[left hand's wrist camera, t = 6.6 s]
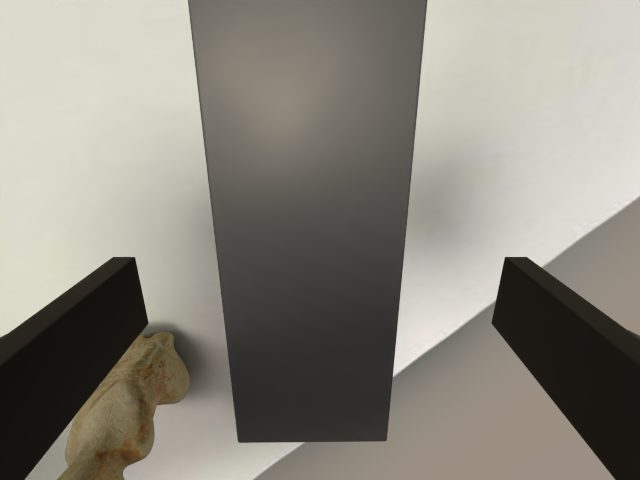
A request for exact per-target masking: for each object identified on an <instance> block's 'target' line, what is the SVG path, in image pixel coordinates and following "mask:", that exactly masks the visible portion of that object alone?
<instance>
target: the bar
mask: <svg viewBox="0 0 640 480" xmlns="http://www.w3.org/2000/svg"><path fill="white" fill-rule="evenodd" d="M188 5H189V14H190V23H191V31H192V40H193V49H194V58H195V67H196V75H197V84H198V93H199V102H200V111H201V119H202V128H203V137H204V146H205V155H206V163H207V172H208V181H209V190H210V199H211V207H212V216H213V225H214V234H215V243H216V251H217V260H218V269H219V278H220V287H221V295H222V304H223V313H224V322H225V331H226V339H227V348H228V357H229V366H230V375H231V383H232V392H233V401H234V410H235V419H236V427H237V436H238V442H239V443H249V442H353V441H354V442H355V441H386V440H387V432H388V421H389V410H390V399H391V388H392V377H393V367H394V356H395V345H396V334H397V323H398V312H399V302H400V291H401V280H402V269H403V258H404V247H405V236H406V226H407V215H408V204H409V193H410V182H411V171H412V161H413V150H414V139H415V128H416V117H417V106H418V96H419V85H420V74H421V63H422V52H423V41H424V30H425V20H426V9H427V0H188Z"/></svg>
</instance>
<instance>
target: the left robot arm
mask: <svg viewBox="0 0 640 480" xmlns="http://www.w3.org/2000/svg"><path fill="white" fill-rule="evenodd" d="M147 324H148V319H147V314H146V309H145V304H144V299H143V294H142V289H141V285H140V280H139V275H138V270H137V265H136V260H135V257H113V258H111V259H110V260H109V261H107V262H106V263H105V264H103V265H102V266H100V267H99V268H98V269H96V270H95V271H94V272H92V273H91V274H89V275H88V276H87V277H85V278H84V279H83V280H81V281H80V282H78V283H77V284H76V285H74V286H73V287H72V288H70V289H69V290H67V291H66V292H65V293H63V294H62V295H61V296H59V297H58V298H56V299H55V300H54V301H52V302H51V303H50V304H48V305H47V306H45V307H44V308H43V309H41V310H40V311H39V312H37V313H36V314H34V315H33V316H32V317H30V318H29V319H28V320H26V321H25V322H23V323H22V324H21V325H19V326H18V327H17V328H15V329H14V330H12V331H11V332H10V333H8V334H6V335H4V336H2V337H0V480H25V478H26V477H27V476H28V475H29V473H30V472H31V471H32V470H33V468H34V467H35V466H36V464H37V463H38V462H39V461H40V459H41V458H42V457H43V456H44V454H45V453H46V452H47V451H48V449H49V448H50V447H51V446H52V444H53V443H54V442H55V441H56V439H57V438H58V437H59V435H60V434H61V433H62V432H63V430H64V429H65V428H66V427H67V425H68V424H69V423H70V422H71V420H72V419H73V418H74V417H75V415H76V414H77V413H78V411H79V410H80V409H81V408H82V406H83V405H84V404H85V403H86V401H87V400H88V399H89V398H90V396H91V395H92V394H93V393H94V391H95V390H96V389H97V388H98V386H99V385H100V384H101V382H102V381H103V380H104V379H105V377H106V376H107V375H108V374H109V372H110V371H111V370H112V369H113V367H114V366H115V365H116V364H117V362H118V361H119V360H120V359H121V357H122V356H123V355H124V353H125V352H126V351H127V350H128V348H129V347H130V346H131V345H132V343H133V342H134V341H135V340H136V338H137V337H138V336H139V335H140V333H141V332H142V331H143V329H144V328H145V327H146V326H147ZM492 324H493V326H494V327H495V328H496V329H497V331H498V332H499V333H500V334H501V336H502V337H503V338H504V340H505V341H506V342H507V343H508V345H509V346H510V347H511V348H512V350H513V351H514V352H515V353H516V355H517V356H518V357H519V358H520V360H521V361H522V362H523V364H524V365H525V366H526V367H527V368H528V370H529V371H530V372H531V374H532V375H533V376H534V377H535V379H536V380H537V381H538V382H539V384H540V385H541V386H542V388H543V389H544V390H545V391H546V393H547V394H548V395H549V396H550V398H551V399H552V400H553V401H554V403H555V404H556V405H557V406H558V408H559V409H560V410H561V411H562V413H563V414H564V415H565V416H566V418H567V419H568V420H569V422H570V423H571V424H572V425H573V426H574V428H575V429H576V430H577V432H578V433H579V434H580V435H581V437H582V438H583V439H584V440H585V442H586V443H587V444H588V446H589V447H590V448H591V449H592V451H593V452H594V453H595V454H596V456H597V457H598V458H599V459H600V461H601V462H602V463H603V464H604V466H605V467H606V468H607V470H608V471H609V472H610V473H611V475H612V476H613V477H614V478H615V480H640V336H639V335H637V334H635V333H633V332H631V331H629V330H626V329H625V328H623V327H622V326H621V325H619V324H618V323H617V322H615V321H614V320H612V319H611V318H610V317H608V316H607V315H606V314H604V313H603V312H601V311H600V310H599V309H597V308H596V307H595V306H593V305H592V304H590V303H589V302H588V301H586V300H585V299H584V298H582V297H581V296H579V295H578V294H577V293H575V292H574V291H573V290H571V289H570V288H568V287H567V286H566V285H564V284H563V283H561V282H560V281H559V280H557V279H556V278H555V277H553V276H552V275H551V274H549V273H548V272H546V271H545V270H544V269H542V268H541V267H540V266H538V265H537V264H535V263H534V262H533V261H531V260H530V259H529V258H527V257H505V260H504V265H503V270H502V275H501V280H500V285H499V289H498V294H497V299H496V304H495V309H494V314H493V319H492Z"/></svg>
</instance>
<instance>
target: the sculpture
mask: <svg viewBox="0 0 640 480" xmlns="http://www.w3.org/2000/svg"><path fill="white" fill-rule="evenodd" d="M174 341H175V338H174V336H173V334H171V333H170V332H161V333H156V334H155V335H154V336H152V337H151V338H149V337H148V336H147V335H139V336H138V337H137V338H136V340H135V341H134V342H133V343H132V345H131V346H130V347H129V348H128V350H127V351H126V352H125V353H124V355H123V356H122V357H121V359H120V360H119V361H118V362H117V364H116V365H115V366H114V367H113V369H112V370H111V371H110V372H109V374H108V375H107V376H106V377H105V379H104V380H103V382H102V383H101V385H100V386H99V387H98V388H97V389H96V390H95V391H94V393H93V394H92V395H91V396H90V398H89V399H88V400H87V401H86V403H85V404H84V405H83V406H82V408H81V409H80V410H79V411H78V413H77V414H76V415H75V417H74V420H73V423H72V427H71V430H70V433H69V437H68V441H67V446H66V452H65V458H66V461H67V464H68V465H69V467H68V468H67V470H66V471H65V472H64V473H63V474H62V475H61V476H60V477H59V478H58V479H57V480H124V477H123V470H124V469H125V468H126V467H127V466H128V465H130V464H133V463H135V462H137V461H140V460H142V459H144V458H145V457H146V456H147V455H148V454H149V453H150V451H151V449H152V446H153V442H154V423H153V416H154V413H155V409H156V406H157V405H163V404H174V403H178V402H180V401H181V400H182V399H183V398H184V397H185V396H186V395H187V393H188V391H189V388H190V376H189V373H188V370H187V368H186V366H185V364H184V362H183V361H182V359H181V358H180V357H179V355H178V354H177V352H176V351H175V349H174V344H173V343H174Z"/></svg>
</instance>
